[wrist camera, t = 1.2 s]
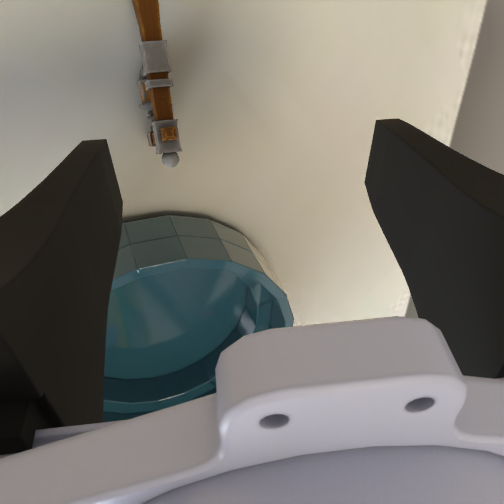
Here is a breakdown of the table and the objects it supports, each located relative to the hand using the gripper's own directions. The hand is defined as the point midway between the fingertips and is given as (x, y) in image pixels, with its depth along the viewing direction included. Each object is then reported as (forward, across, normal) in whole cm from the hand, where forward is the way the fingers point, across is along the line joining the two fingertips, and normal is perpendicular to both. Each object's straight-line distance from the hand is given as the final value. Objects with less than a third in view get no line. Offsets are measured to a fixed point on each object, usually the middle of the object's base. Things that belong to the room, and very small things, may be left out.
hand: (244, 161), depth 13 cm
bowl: (+9, +5, +17) cm, 20 cm away
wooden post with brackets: (+11, +3, +1) cm, 11 cm away
